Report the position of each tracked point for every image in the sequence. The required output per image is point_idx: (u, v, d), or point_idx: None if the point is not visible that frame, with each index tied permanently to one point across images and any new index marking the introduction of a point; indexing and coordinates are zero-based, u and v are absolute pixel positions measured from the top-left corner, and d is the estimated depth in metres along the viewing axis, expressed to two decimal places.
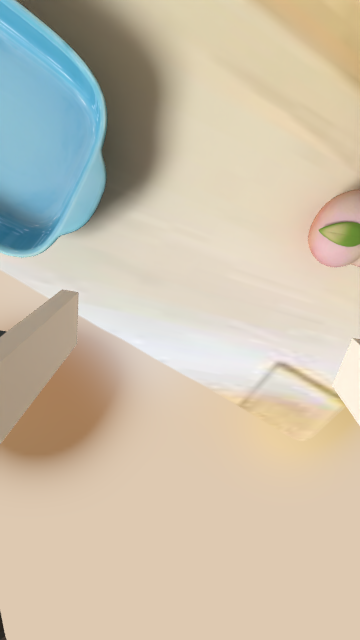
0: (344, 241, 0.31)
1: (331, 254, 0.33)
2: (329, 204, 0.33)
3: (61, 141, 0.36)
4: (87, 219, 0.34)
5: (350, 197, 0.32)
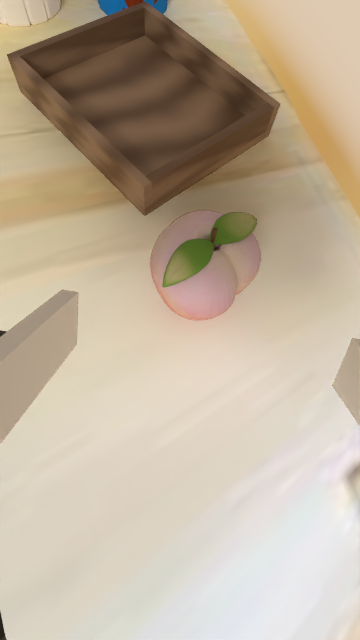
0: (195, 264, 0.21)
1: (205, 291, 0.22)
2: None
3: None
4: None
5: (156, 241, 0.24)
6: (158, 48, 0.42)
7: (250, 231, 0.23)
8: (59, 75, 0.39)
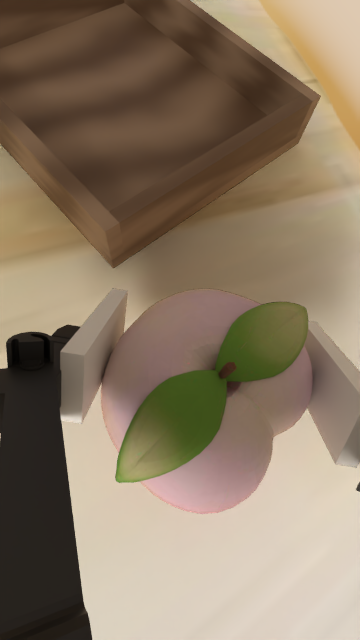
0: (186, 444, 0.09)
1: (209, 489, 0.10)
2: (101, 404, 0.13)
3: None
4: None
5: (111, 356, 0.12)
6: (142, 20, 0.30)
7: (301, 347, 0.11)
8: None
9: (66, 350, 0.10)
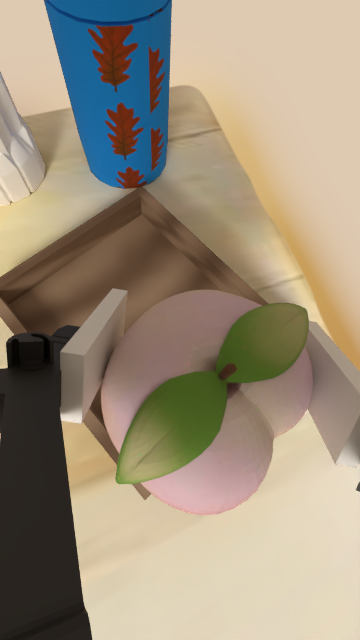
0: (186, 445, 0.09)
1: (209, 491, 0.10)
2: (102, 405, 0.13)
3: None
4: None
5: (112, 358, 0.12)
6: (157, 233, 0.37)
7: (301, 348, 0.11)
8: (43, 286, 0.33)
9: (66, 350, 0.10)
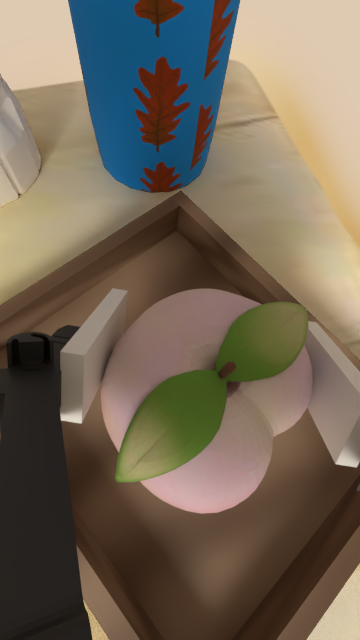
0: (186, 444, 0.09)
1: (209, 489, 0.10)
2: (101, 403, 0.13)
3: None
4: None
5: (111, 356, 0.12)
6: (200, 258, 0.25)
7: (301, 347, 0.11)
8: None
9: (66, 350, 0.10)
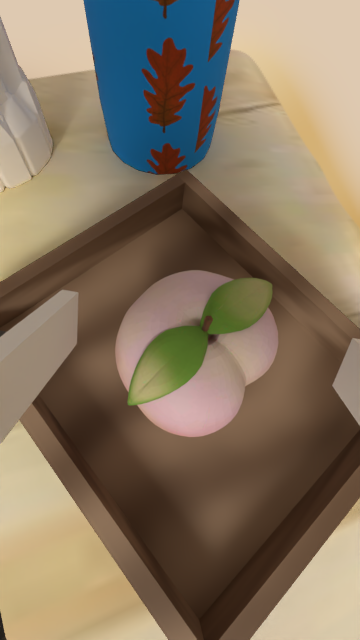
0: (177, 374, 0.13)
1: (195, 410, 0.14)
2: None
3: None
4: None
5: (123, 320, 0.16)
6: (204, 234, 0.27)
7: (264, 310, 0.15)
8: None
9: None
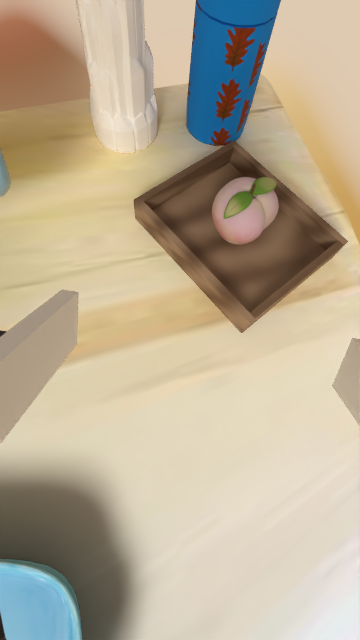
0: (243, 205, 0.38)
1: (247, 221, 0.39)
2: (213, 211, 0.42)
3: None
4: None
5: (217, 195, 0.41)
6: (241, 175, 0.52)
7: (273, 188, 0.40)
8: (166, 205, 0.48)
9: None
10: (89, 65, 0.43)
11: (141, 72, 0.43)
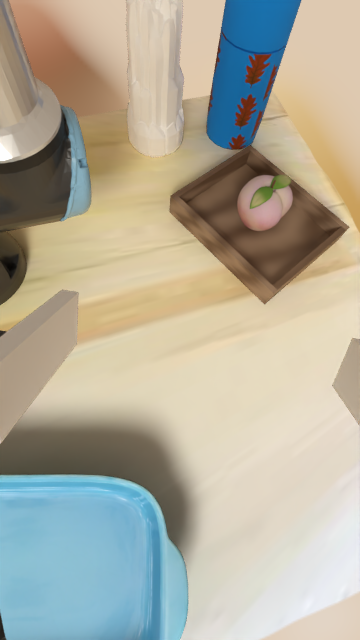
0: (265, 197, 0.47)
1: (269, 210, 0.48)
2: (239, 203, 0.50)
3: (117, 545, 0.37)
4: (186, 615, 0.31)
5: (242, 190, 0.50)
6: (256, 174, 0.60)
7: (289, 183, 0.49)
8: (195, 200, 0.57)
9: None
10: (132, 84, 0.51)
11: (175, 90, 0.52)
